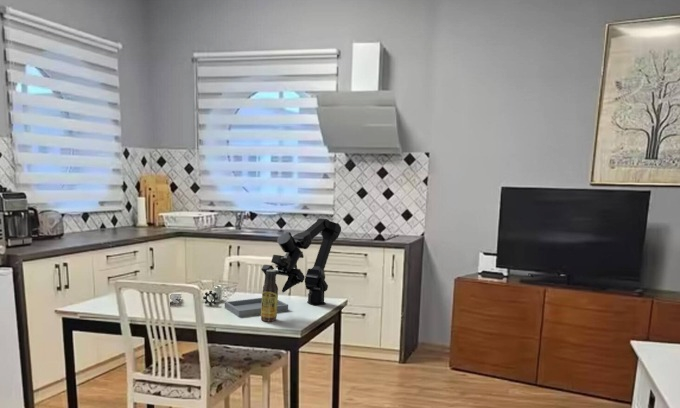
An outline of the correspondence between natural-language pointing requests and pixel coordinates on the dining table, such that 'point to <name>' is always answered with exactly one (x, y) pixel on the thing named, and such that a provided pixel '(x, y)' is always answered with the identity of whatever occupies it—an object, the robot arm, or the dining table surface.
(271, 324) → the dining table surface
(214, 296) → the valve
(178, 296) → the penguin figurine
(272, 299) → the sauce bottle
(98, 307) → the dining table surface
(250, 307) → the tray
